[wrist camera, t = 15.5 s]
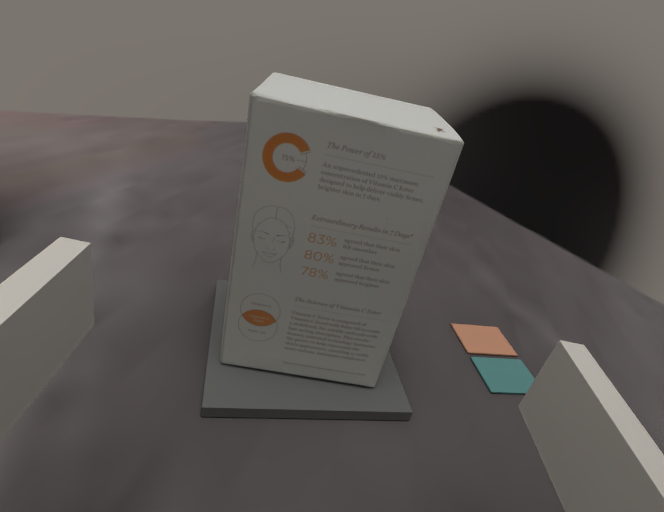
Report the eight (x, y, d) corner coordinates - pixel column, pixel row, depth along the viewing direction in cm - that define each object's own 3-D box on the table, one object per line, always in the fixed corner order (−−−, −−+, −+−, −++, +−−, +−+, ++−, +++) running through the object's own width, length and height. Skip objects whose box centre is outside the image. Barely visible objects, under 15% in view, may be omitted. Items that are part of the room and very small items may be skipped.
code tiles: (496, 328, 31) (497, 327, 31) (544, 394, 26) (545, 393, 26) (450, 324, 30) (451, 323, 30) (491, 393, 25) (491, 391, 25)
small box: (367, 315, 28) (435, 106, 21) (376, 391, 22) (470, 140, 16) (239, 292, 27) (271, 67, 21) (215, 365, 21) (248, 89, 15)
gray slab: (365, 300, 30) (367, 292, 30) (408, 420, 22) (412, 412, 22) (216, 287, 28) (217, 279, 28) (200, 416, 19) (201, 407, 19)
